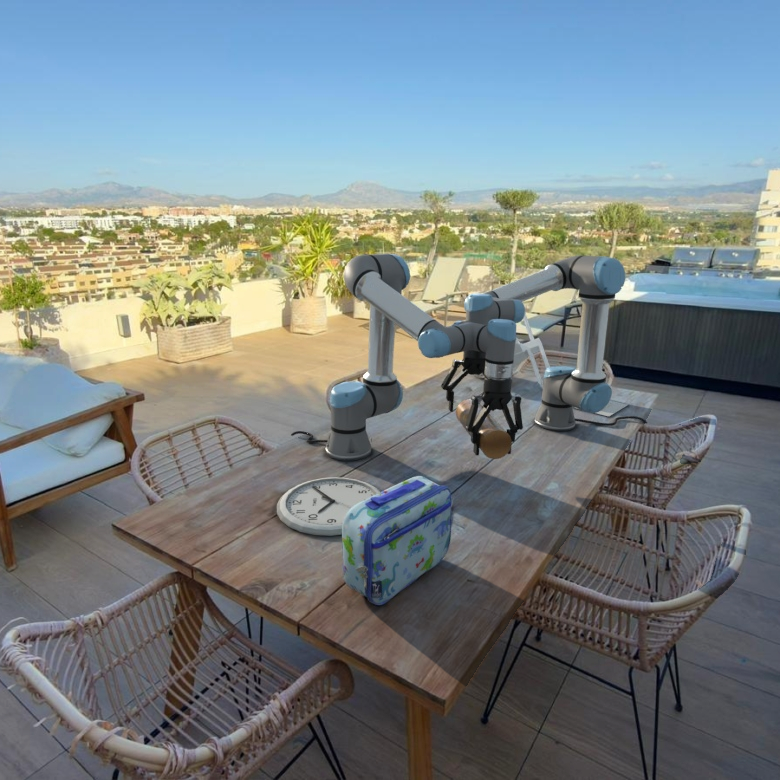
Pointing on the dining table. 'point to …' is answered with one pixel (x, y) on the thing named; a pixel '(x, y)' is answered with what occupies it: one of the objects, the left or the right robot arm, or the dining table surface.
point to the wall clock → (322, 504)
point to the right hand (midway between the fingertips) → (471, 410)
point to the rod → (486, 432)
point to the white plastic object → (528, 352)
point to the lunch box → (395, 537)
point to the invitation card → (611, 408)
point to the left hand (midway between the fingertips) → (491, 452)
